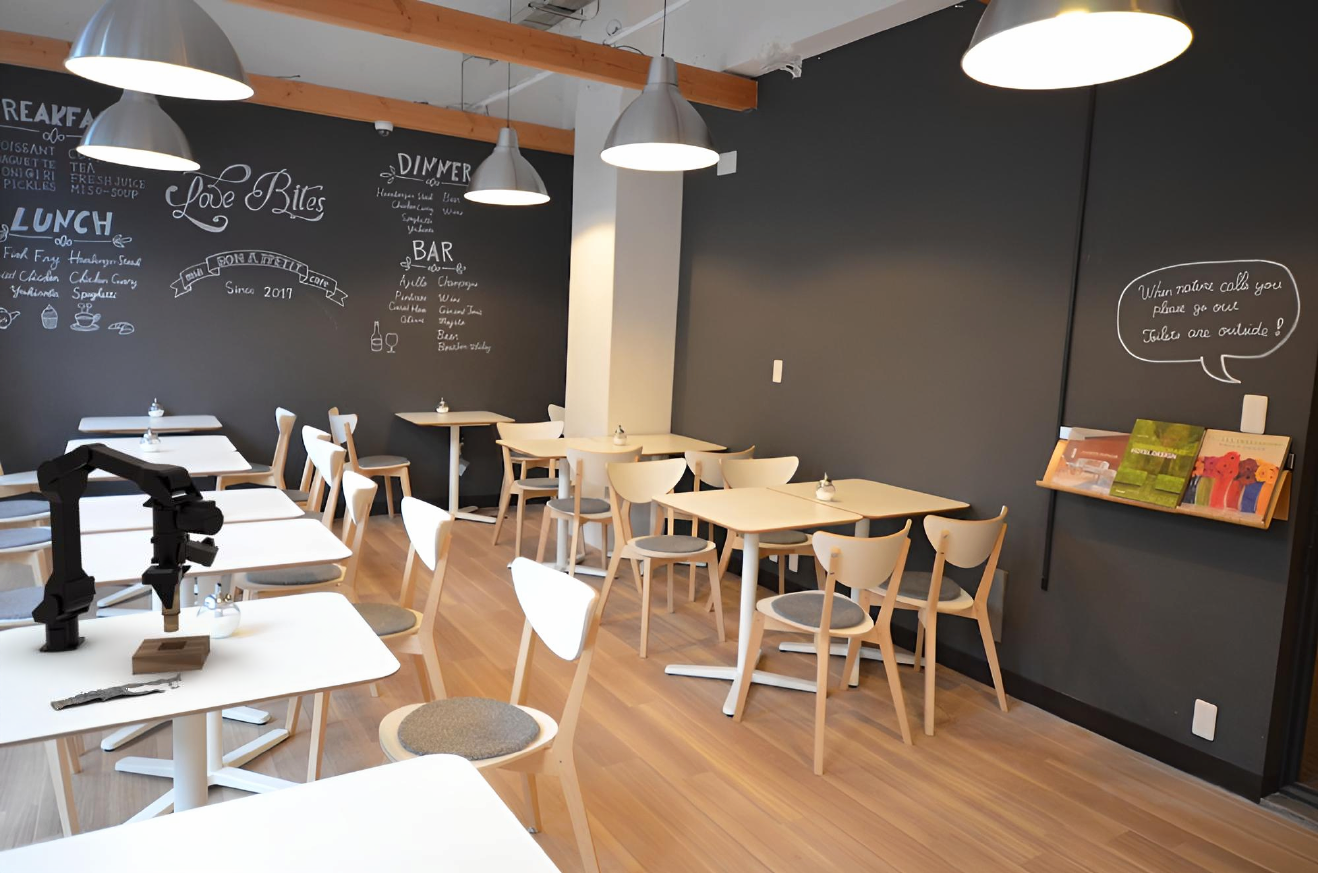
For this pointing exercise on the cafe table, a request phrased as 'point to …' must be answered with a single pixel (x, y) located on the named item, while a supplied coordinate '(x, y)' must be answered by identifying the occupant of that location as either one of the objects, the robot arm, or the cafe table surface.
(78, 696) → the driftwood
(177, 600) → the peg
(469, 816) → the cafe table surface
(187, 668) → the board
